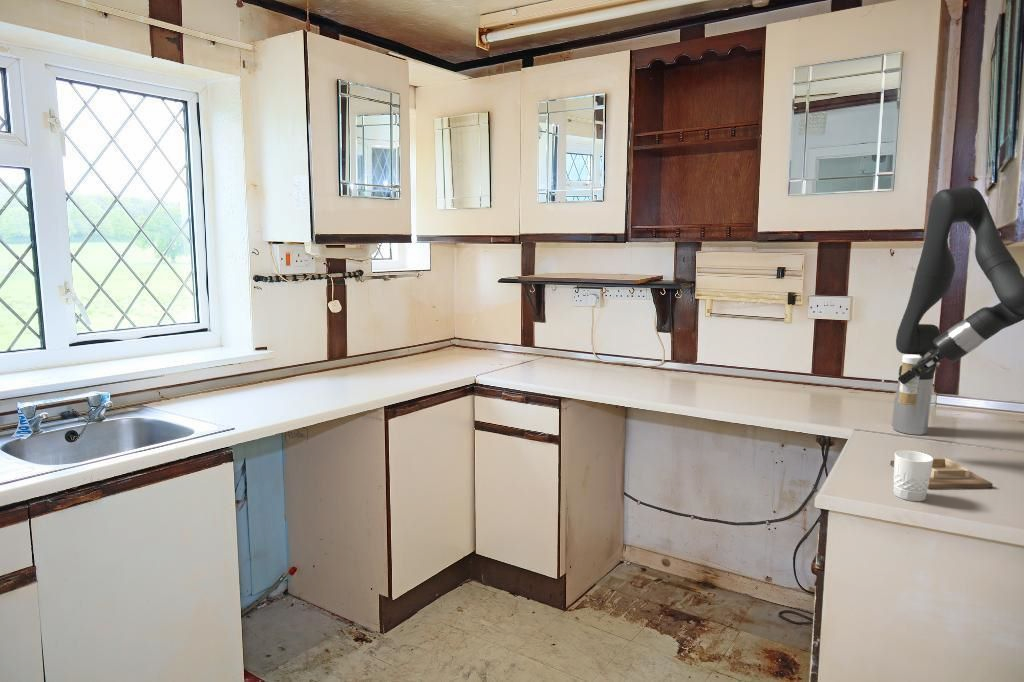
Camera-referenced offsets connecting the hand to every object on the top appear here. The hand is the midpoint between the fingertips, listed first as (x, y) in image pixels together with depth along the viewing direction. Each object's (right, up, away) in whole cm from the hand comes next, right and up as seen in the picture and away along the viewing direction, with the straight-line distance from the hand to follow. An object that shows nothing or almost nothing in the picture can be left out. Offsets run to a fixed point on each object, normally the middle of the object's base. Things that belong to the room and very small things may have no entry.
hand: (901, 379), depth 187 cm
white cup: (-12, -27, -24) cm, 38 cm away
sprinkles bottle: (+2, -7, 0) cm, 7 cm away
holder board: (+3, -24, -12) cm, 27 cm away
